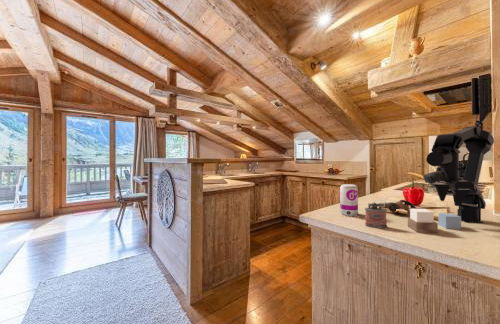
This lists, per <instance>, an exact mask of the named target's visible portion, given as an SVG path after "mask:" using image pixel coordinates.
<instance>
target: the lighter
mask: <svg viewBox="0 0 500 324" xmlns="http://www.w3.org/2000/svg"><path fill="white" fill-rule="evenodd" d="M384 207H386V205H385V203H384V202H383V203H382V202H374V201H373V202H372V203H369V202H368V203H367V207H364V210H365V224H364V225H365V227H368V228H377V229H378V228H379V229H387V228H388V225H387V212H388V210H387V209H388V208H387V209H386V208H384Z"/></svg>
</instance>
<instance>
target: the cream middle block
mask: <svg viewBox="0 0 500 324" xmlns="http://www.w3.org/2000/svg"><path fill="white" fill-rule="evenodd" d="M409 210H410V217H409V218H411V219H412V220H414V221H416V222H426V223H434V222H435V220H434V218H435V217H434V213H435V212H434V211H431V210H429V209H427V208H416V209H411V208H409Z"/></svg>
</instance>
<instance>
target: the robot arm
mask: <svg viewBox="0 0 500 324" xmlns="http://www.w3.org/2000/svg"><path fill="white" fill-rule="evenodd" d="M494 142H495V140H494V137H493V135H492V134H491V132H489V131H486V130H484V129H482V128H481V127H480V126H477V125H473V126H465V127H463V128H462V129H459V130H456V131H454V132H452V133H444V134H439V135H437V137H436V138H435V140H434V142H433V145H432V148H431V152H429V153H428V154H427V155H426V163H428V165H430V166H432V167H436V168H435V169H436V171H432V172H428V173H426V174H422V178H423V179H424V182H425V183H426V184H427V183H428V184H430V186H432V187H433V188H435V190H436V193H437V195H438V197H439V200H440V202H444V201H445V199H446V197H447V193H448V191H451V192H452V194H453V195H452V198H453V204H454V206H456V207H458V208H457V214H456V215H458V216H460V217H461V222H465V223H475V224H476V223H479V224H480V223H481V224H484V223H485V222H484V220H482V210H485V209H486V207H487V206H486V204H487V203H486V201H485V200H484V198H483V196H482V190H481V189H480V188H479V180H480V176H481V171H482V167H483V161H484V156H485V155H486V154H487V153H488V152H490V151H491V149H492V145H494ZM464 144H465V148H466V150H467V151H468V156H467V160H466V165H465V169H464V170H465V171H464V175H463V178H462V177H460V171H463V168H462V167H460V161H459V159H460V155H459V154H460V153H461V150H460V148H461V147H462V146H463V145H464Z"/></svg>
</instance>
